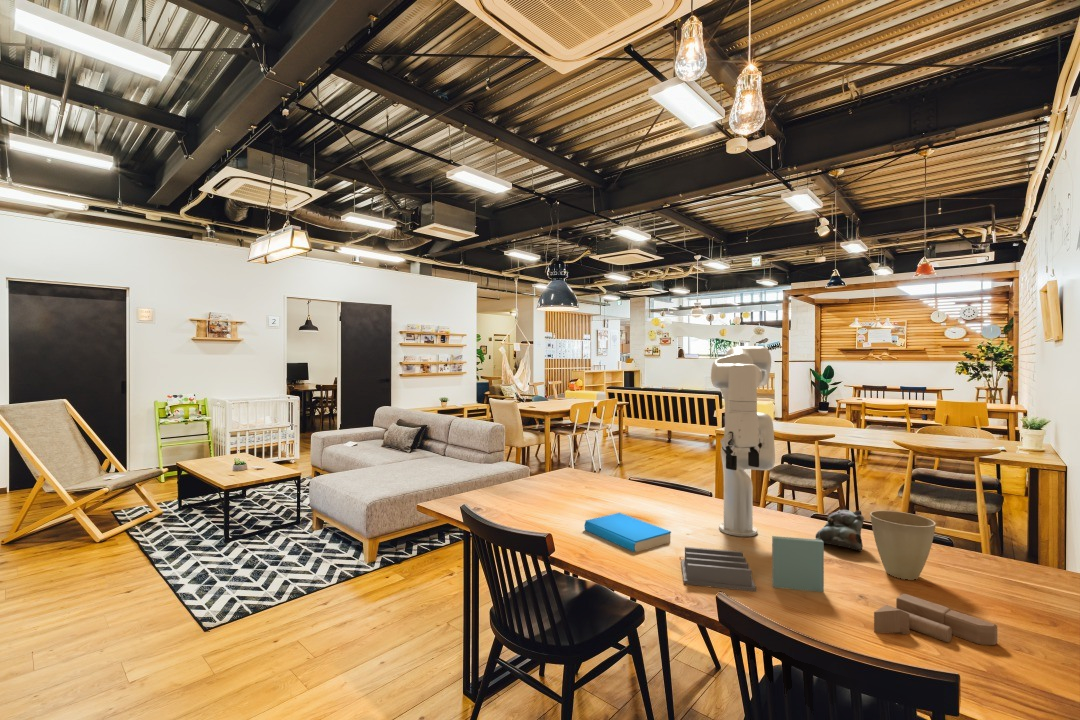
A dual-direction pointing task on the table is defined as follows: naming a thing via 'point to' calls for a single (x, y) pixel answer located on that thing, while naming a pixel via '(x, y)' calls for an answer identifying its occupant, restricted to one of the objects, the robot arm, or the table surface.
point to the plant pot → (902, 542)
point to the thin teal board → (798, 563)
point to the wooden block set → (932, 621)
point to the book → (628, 531)
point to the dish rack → (717, 569)
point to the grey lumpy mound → (843, 529)
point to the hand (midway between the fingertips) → (742, 467)
